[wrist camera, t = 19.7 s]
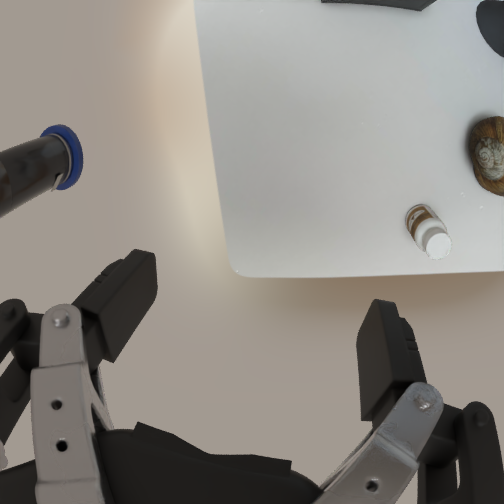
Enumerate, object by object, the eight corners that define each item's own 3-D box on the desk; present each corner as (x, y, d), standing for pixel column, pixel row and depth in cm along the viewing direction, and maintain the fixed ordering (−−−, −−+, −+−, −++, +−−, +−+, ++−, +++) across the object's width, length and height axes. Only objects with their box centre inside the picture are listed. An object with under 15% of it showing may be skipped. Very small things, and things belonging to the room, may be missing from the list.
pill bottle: (415, 198, 34) (435, 222, 28) (439, 213, 34) (461, 239, 28) (399, 225, 36) (415, 254, 30) (423, 239, 37) (441, 269, 30)
